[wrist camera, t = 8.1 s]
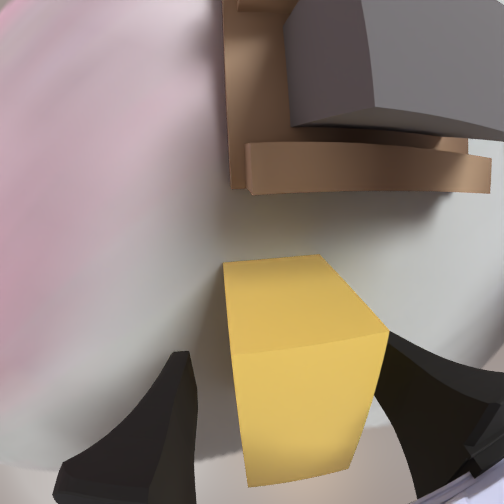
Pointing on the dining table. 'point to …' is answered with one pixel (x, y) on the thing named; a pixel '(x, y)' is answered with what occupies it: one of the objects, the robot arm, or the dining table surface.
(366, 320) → the ochre bar
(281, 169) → the comb rack
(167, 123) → the dining table surface
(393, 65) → the charcoal bar
